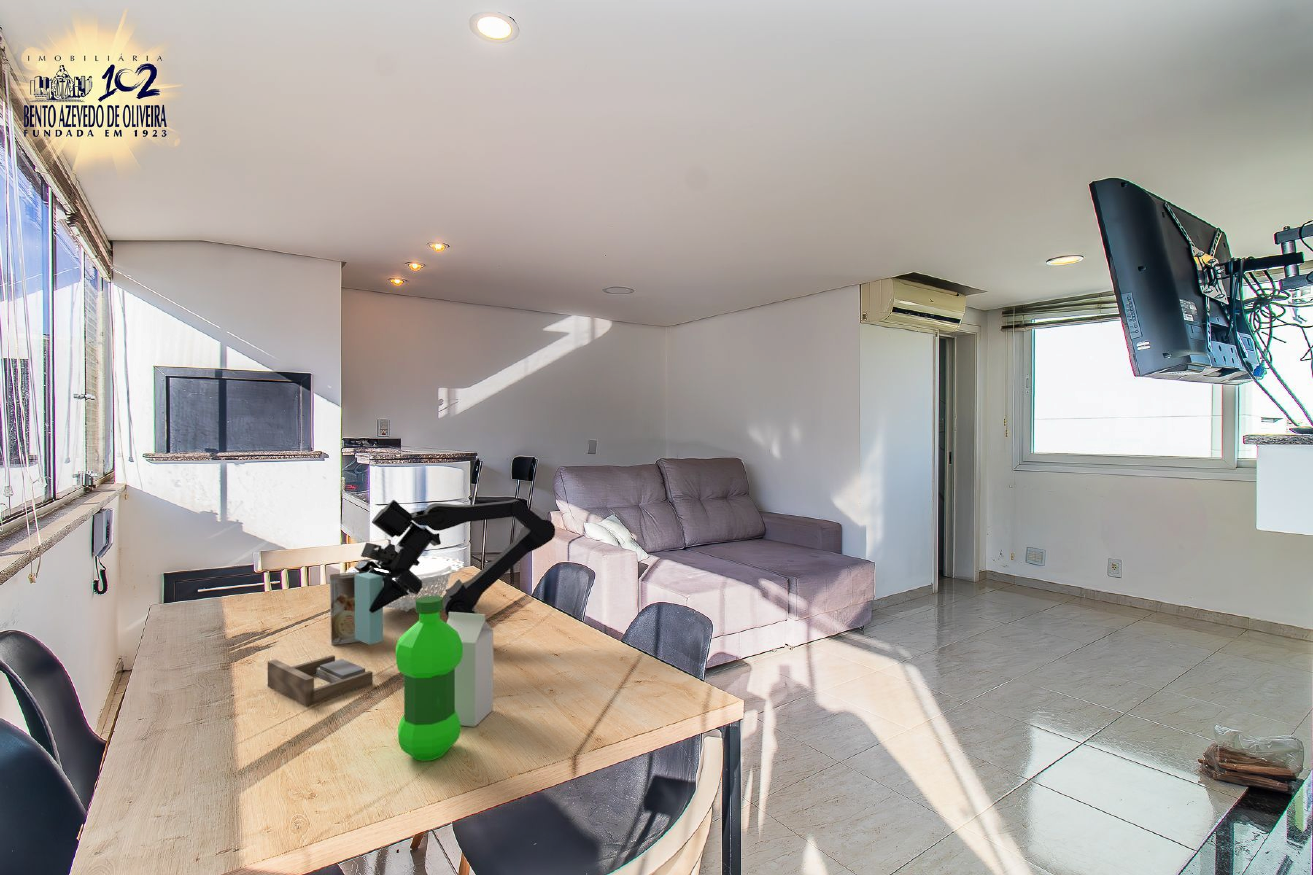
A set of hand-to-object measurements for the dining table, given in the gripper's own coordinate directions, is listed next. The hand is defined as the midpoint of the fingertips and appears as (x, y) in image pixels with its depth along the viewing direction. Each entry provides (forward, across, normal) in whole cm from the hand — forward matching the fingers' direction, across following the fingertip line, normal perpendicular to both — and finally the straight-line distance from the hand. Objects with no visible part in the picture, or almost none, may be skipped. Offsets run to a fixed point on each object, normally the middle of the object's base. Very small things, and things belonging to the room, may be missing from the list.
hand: (362, 609), depth 139 cm
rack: (+16, 0, +3) cm, 16 cm away
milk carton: (+10, +36, +10) cm, 38 cm away
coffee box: (+3, -22, +16) cm, 28 cm away
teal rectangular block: (+4, 0, +6) cm, 7 cm away
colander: (-12, -33, +32) cm, 47 cm away
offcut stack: (+13, 0, +6) cm, 14 cm away
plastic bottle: (+18, +41, +1) cm, 45 cm away
